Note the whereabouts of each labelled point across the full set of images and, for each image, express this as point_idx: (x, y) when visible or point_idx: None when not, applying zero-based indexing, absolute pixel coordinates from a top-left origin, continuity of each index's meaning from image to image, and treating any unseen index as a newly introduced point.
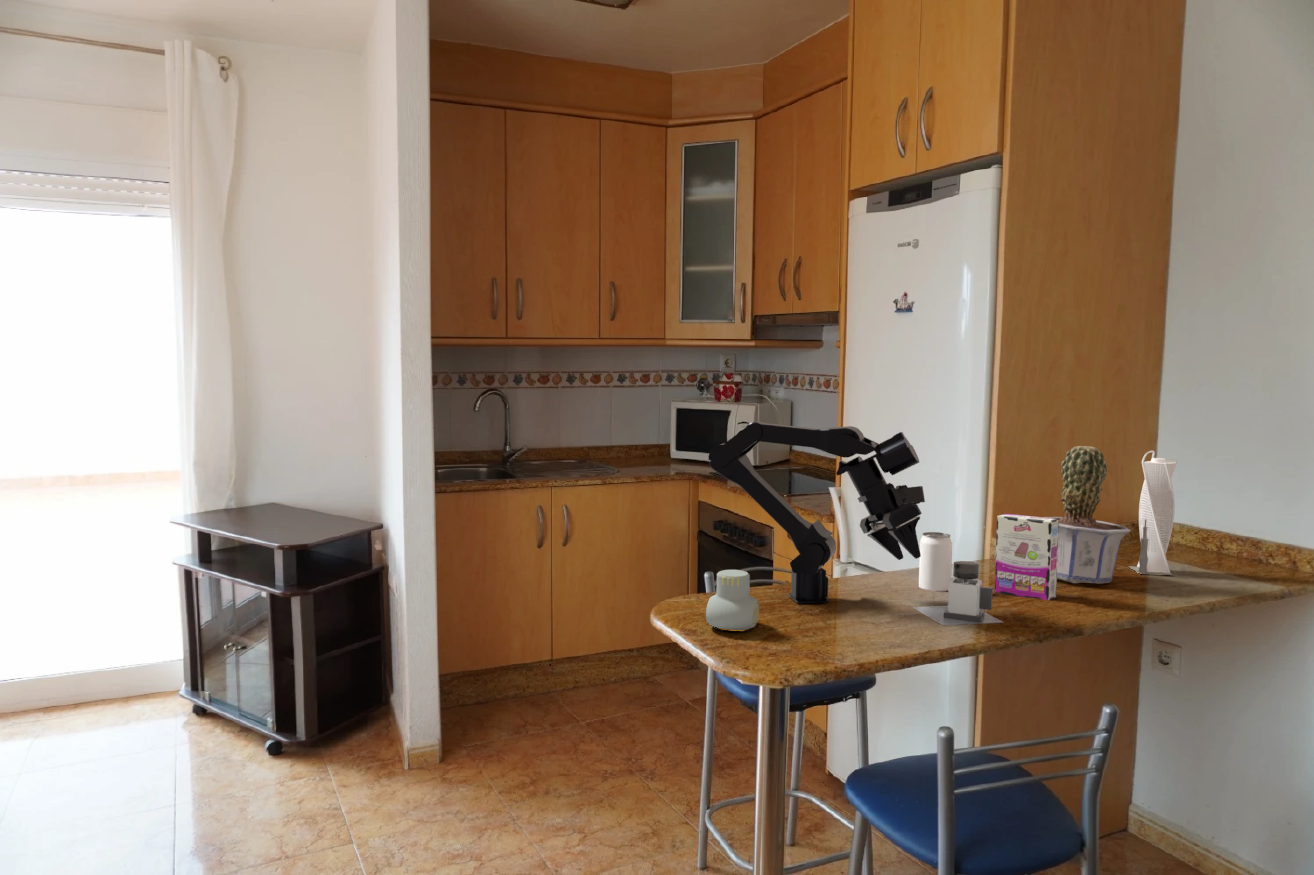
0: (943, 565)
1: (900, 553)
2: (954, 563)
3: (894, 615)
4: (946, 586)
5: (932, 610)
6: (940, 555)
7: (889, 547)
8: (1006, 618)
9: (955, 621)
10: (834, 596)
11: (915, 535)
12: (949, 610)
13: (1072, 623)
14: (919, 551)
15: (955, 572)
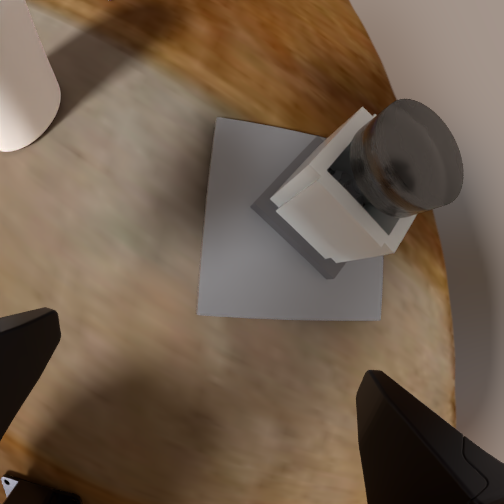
0: (33, 56)
1: (40, 331)
2: (424, 198)
3: (227, 389)
4: (56, 86)
5: (250, 268)
6: (15, 43)
7: (5, 406)
8: (316, 101)
9: (362, 267)
10: (11, 442)
11: (485, 461)
12: (340, 261)
13: (358, 33)
14: (400, 388)
15: (410, 212)
